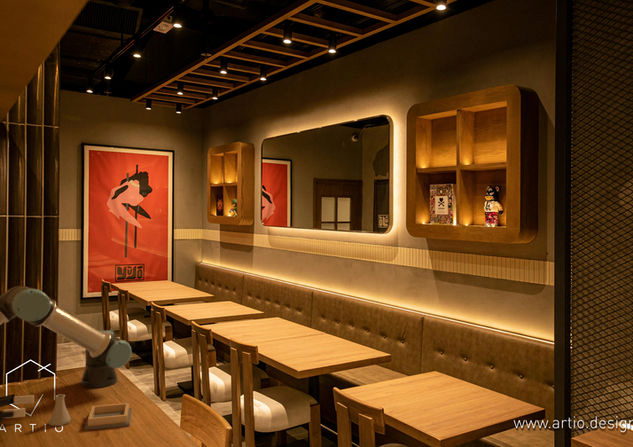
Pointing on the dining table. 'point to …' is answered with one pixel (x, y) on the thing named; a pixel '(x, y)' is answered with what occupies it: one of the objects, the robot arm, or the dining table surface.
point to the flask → (59, 412)
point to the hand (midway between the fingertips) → (29, 405)
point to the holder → (109, 416)
